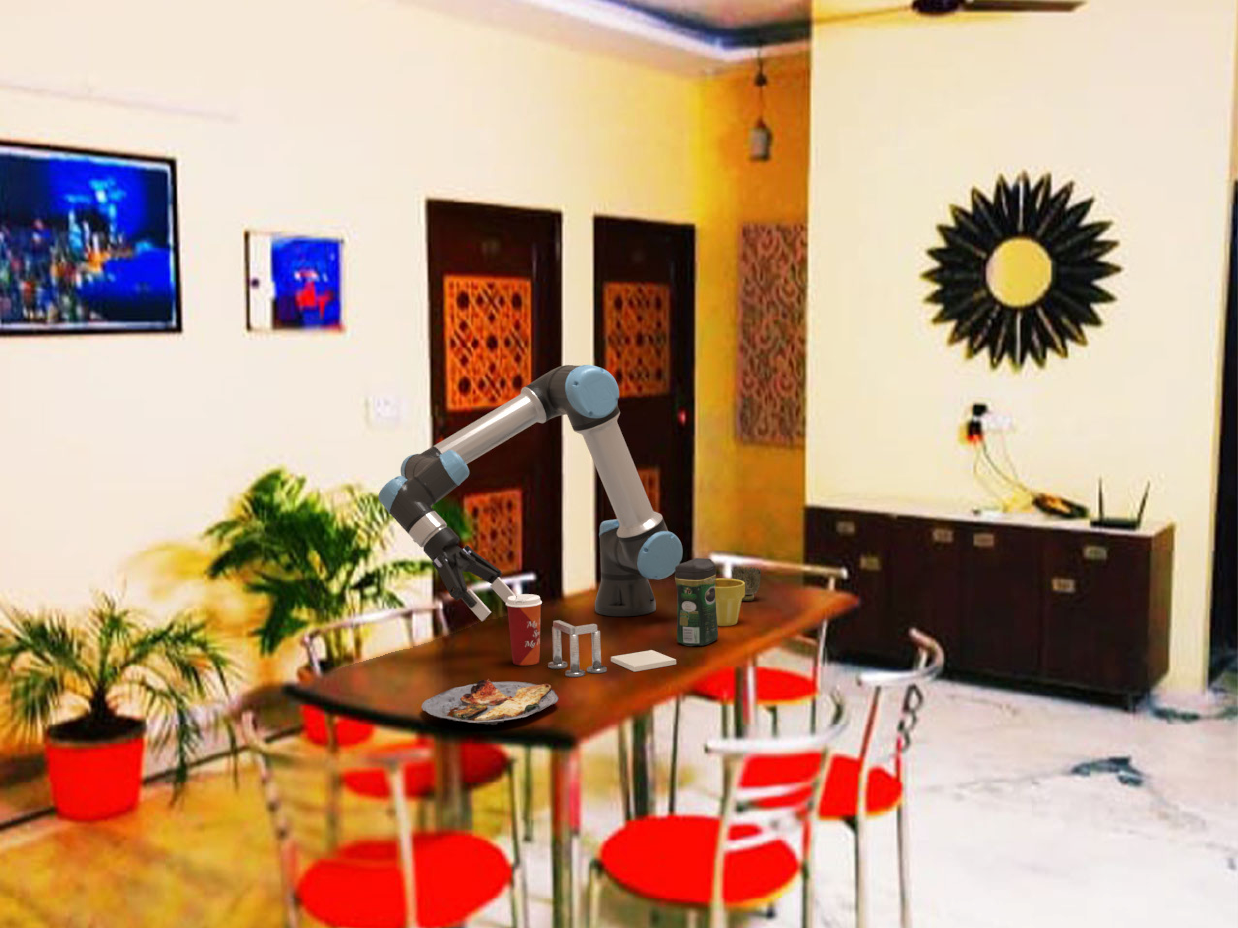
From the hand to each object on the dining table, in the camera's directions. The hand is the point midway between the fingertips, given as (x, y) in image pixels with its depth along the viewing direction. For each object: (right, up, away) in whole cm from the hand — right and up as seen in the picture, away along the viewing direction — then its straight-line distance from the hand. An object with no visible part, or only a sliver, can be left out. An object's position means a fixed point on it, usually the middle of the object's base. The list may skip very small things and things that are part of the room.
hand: (501, 610), depth 275 cm
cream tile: (+30, -11, -3) cm, 32 cm away
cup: (+58, -4, +56) cm, 80 cm away
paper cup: (+5, -11, 0) cm, 12 cm away
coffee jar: (+42, -9, +14) cm, 45 cm away
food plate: (+1, -15, -34) cm, 37 cm away
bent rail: (+16, -11, -6) cm, 21 cm away
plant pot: (+50, -7, +31) cm, 59 cm away
